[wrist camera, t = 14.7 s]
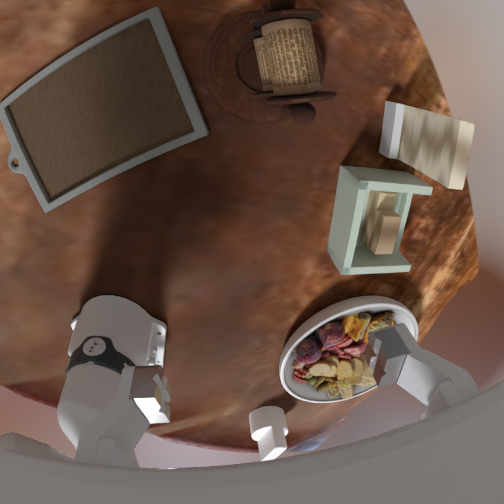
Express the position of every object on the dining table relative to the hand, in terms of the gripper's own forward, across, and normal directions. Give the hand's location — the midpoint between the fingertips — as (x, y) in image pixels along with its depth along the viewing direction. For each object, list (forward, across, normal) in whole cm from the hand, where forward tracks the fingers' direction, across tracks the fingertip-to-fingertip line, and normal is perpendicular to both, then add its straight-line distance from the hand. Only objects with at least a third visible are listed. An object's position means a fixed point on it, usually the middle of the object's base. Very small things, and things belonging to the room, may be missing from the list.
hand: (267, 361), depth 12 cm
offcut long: (+33, -21, +11) cm, 41 cm away
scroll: (+34, -6, -11) cm, 37 cm away
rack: (+34, -20, +11) cm, 41 cm away
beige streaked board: (+33, -25, -2) cm, 42 cm away
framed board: (+35, +19, -9) cm, 41 cm away
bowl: (+35, -19, +41) cm, 57 cm away
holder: (+34, -26, -2) cm, 43 cm away
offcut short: (+30, -21, +12) cm, 39 cm away
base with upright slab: (+34, 0, +64) cm, 72 cm away
